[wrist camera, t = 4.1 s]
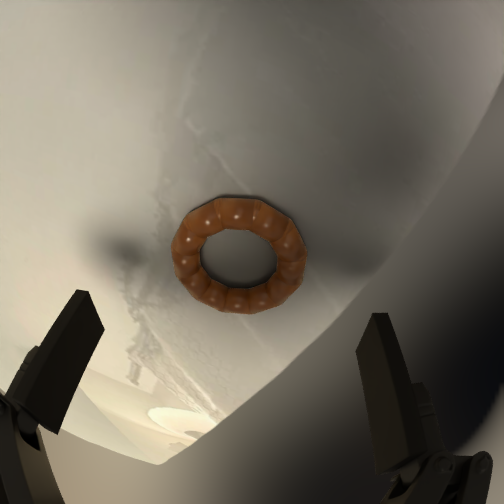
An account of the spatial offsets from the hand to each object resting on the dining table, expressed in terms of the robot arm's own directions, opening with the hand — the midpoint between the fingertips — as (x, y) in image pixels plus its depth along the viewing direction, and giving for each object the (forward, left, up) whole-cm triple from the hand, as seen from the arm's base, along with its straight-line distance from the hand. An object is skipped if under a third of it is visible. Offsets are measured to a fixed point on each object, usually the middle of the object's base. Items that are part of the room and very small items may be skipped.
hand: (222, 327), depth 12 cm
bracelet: (0, 0, -5) cm, 5 cm away
